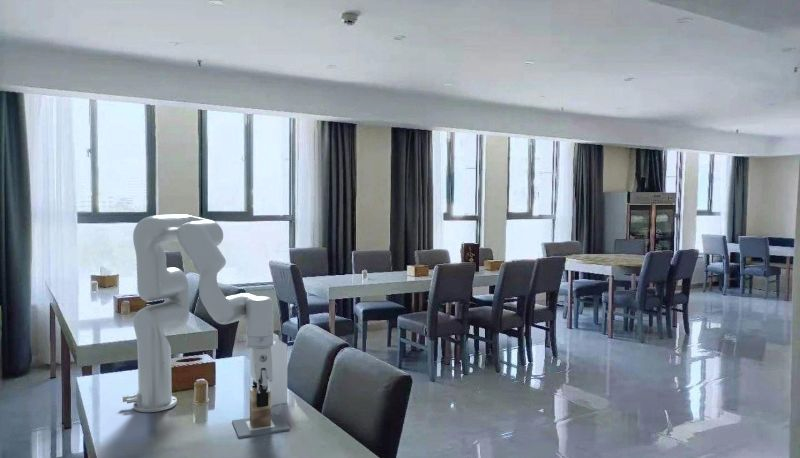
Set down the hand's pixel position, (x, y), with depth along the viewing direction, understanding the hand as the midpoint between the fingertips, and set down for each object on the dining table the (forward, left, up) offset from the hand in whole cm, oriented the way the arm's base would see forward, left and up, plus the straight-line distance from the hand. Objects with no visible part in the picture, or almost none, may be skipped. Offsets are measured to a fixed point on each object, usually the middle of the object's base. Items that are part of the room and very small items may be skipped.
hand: (260, 401), depth 167 cm
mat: (0, 0, -7) cm, 7 cm away
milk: (+8, +18, -7) cm, 21 cm away
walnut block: (0, 0, -6) cm, 6 cm away
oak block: (0, 0, -1) cm, 1 cm away
